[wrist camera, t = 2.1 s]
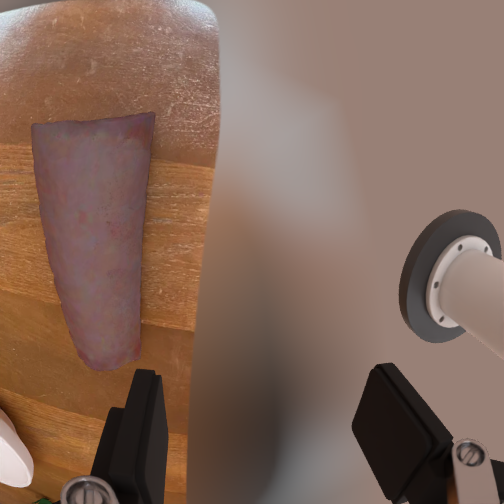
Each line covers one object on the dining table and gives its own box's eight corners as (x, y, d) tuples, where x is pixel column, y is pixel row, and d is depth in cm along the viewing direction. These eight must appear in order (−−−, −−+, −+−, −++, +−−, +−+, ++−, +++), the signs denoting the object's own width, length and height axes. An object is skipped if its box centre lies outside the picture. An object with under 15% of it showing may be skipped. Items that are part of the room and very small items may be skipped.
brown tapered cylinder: (63, 126, 23) (9, 116, 15) (163, 113, 24) (141, 91, 16) (89, 341, 29) (59, 395, 20) (176, 342, 30) (168, 403, 21)
